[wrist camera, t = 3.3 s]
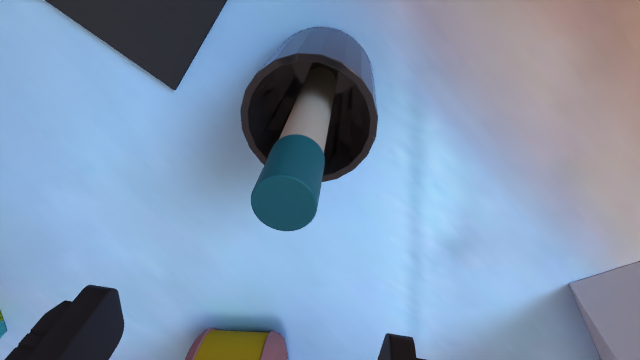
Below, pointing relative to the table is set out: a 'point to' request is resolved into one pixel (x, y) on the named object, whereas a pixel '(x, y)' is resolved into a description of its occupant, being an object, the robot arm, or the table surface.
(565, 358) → the table surface
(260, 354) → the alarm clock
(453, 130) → the table surface
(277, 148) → the marker
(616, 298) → the red-lidded white box
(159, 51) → the desk mat
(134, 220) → the table surface
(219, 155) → the table surface
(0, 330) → the chart
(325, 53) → the pen holder
